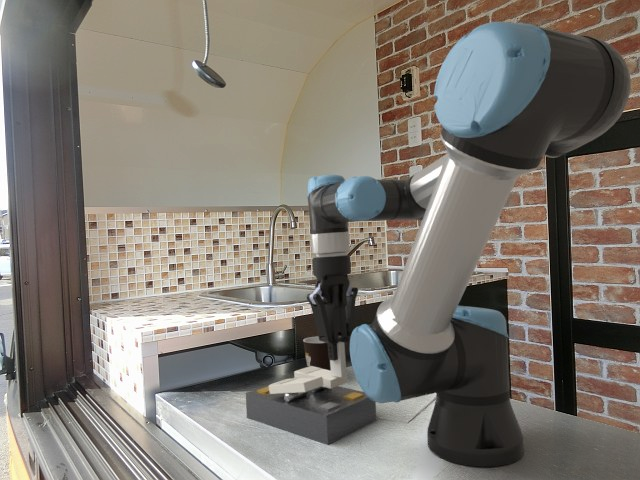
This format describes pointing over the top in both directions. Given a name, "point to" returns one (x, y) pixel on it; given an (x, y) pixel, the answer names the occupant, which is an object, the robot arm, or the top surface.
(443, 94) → the robot arm
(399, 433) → the top surface
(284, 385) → the rocker left
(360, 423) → the switch unit
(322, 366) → the coffee mug
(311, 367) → the rocker right
